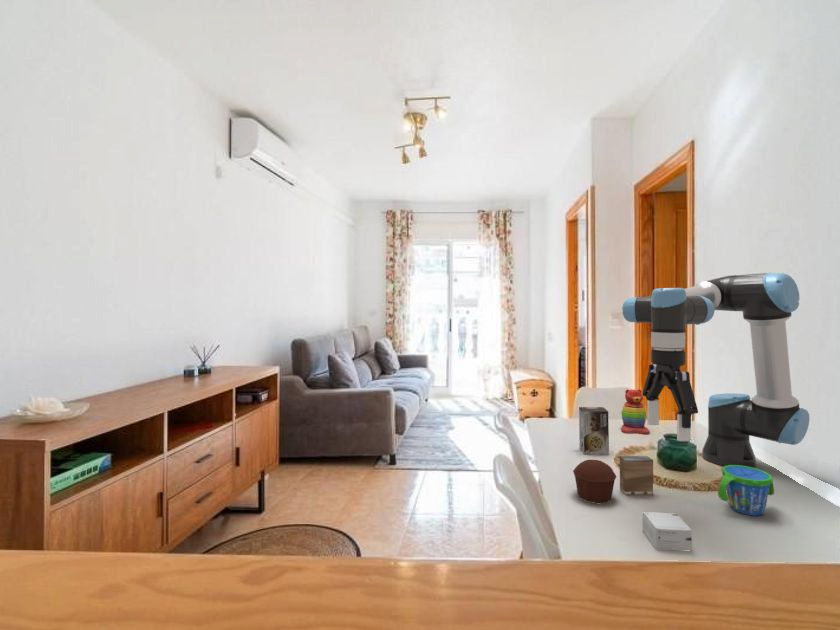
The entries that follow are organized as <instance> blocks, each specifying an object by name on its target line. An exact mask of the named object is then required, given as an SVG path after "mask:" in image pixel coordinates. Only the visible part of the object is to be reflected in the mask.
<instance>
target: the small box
mask: <svg viewBox="0 0 840 630" xmlns="http://www.w3.org/2000/svg"><path fill="white" fill-rule="evenodd" d="M692 532H693V529H692V528H691V527H690V526H689V525H688V524H687V523H686V522H685V521H684V520H683V519H682V518H681V517H680V516H679V515H678V514H677V513H672V512H671V513H669V512H667V513H666V512H658V511H657V512H651V511H650V512H647V511H645V512H644V511H642V533H643V534H644V535H645V537H646V538H647V540H648V541H649V542H650V543H651V545H652V546H653V549H655V550H667V551H668V550H669V551H679V550H690V551H689V552H692V548H693V547H692V546H693V545H692V544H693V542H692V541H693V539H692V538H693V535H692V534H693V533H692Z"/></svg>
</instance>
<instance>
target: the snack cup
mask: <svg viewBox="0 0 840 630" xmlns="http://www.w3.org/2000/svg"><path fill="white" fill-rule="evenodd" d="M721 473H722V476H723V477H721V481H720V483H719V488H718V491H717V495H718V497H719V500H722V501H724V502H728V504H729V506H730V507H731V509H732V510H734V511H735V512H738V513H741V514H744V515H749V516H754V517H755V516H761V515H764V513H765V511H766V507H767V501H768V497H769V496H773V495H774V493H775V486H774V480H773V477H772V475H771V474H769V473H768V472H766V471H765V470H762V469H760V468H757V467H756V468H755V467H748V466H741V465H727V466H723V467H722V468H721Z"/></svg>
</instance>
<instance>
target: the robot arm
mask: <svg viewBox="0 0 840 630" xmlns="http://www.w3.org/2000/svg"><path fill="white" fill-rule="evenodd" d="M799 306H800V291H799V288H798V285H797V283H796V281H795V280H794V278H792V276H790V275H789V274H787V273H784V272H781V273H780V272H779V273H775V272H764V273H763V272H762V273H752V274H748V273H747V274H739V275H736V274H735V275H725V276H722V277H716V278H713V279H710V280H706V281H705V280H704V281H701V282H697V283H696V284H695V285H693V286H692V287H687V288H683V287H663V288H662V287H661V288H655V289H653V290H652V292H651V295H648V296H647V295H646V296H635V297H634V296H633V297H628V298H626V299H625V300H624V302H623V304H622V307H621V310H622V317H623V318H624V320H625V321H627V322H629V323H636V324H639V323H642V324H643V323H644V324H651V329H650V330H651V331H650V347H651V348H652V349H651V350H650V362H651V363H652V364H649V365H648V372H647V375H646V380H645V384H644V386H643V390H642V392H641V394H642V396H643V397H645V399H646V403H647V409H646V411H647V414H646V422H647V425H648V426H659V424H660V397H659V396H660V394H661V393H662V391H663V390H664V387H666V388H667V389H668V390H670V392H671V395H672V396H673V399H674V402H675V404H676V406H677V409H678V411H677V412H676V413H677V414H676V419H677V422H676V431H677V432H676V441H678V442H691V428H692V415H695V414H698V413H699V409H698V406H697V402H696V398H695V394H694V392H693V387H692V386H691V385H692V383H691V379H690V372H689V371H681V367H682V366H685V364H686V351H685V350H683V349H685V348H686V339H687V336H686V325H697V326H698V325H700V324H705V323H708V322H710V321H711V320H712V318H713V317H714V315H715V311H727V312H742V315H743V320H744V321H746V322H747V323H749V326H750V327H749V329H750V336H751V337H750V338H751V347H752V357H753V369H754V378H755V380H754V381H755V387H756V394H755V395H754V396H753V397H752V398H751V396H750V395H749V394H746V393H735V392H734V393H727V392H726V393H715V394H712V395H710V396H709V399H708V405H707V411H708V415H707V418H708V419H707V422H708V425H707V427H708V430H707V431H708V433H707V437H706V440H705V443H704V444H703V447H702V452H701V453H702V454H701V455H702V458H703V459H704V460H706V461H708V462H710V463H713V464H716V465H718V466H719V465H720V466H723V467H724V466H727V465H741V466H748V467H752V468H755V467H756V465H757V463H756V461H757V458H756V455H755V453H754V450H753V448H752V444H751V442H750V436H751V437H754V438H759V439H763V440H766V441H767V440H768V441H772V442H776V443H779V444H785V445H791V446H792V445H794V446H796V445H798V444H799V443H801V442H802V441H803V440H804V438H805V436H806V434H807V433H808V429H809V425H810V413H809V411H808V410H807V409H805V408H803V407H800V400H799V399H797V397H795V396H793V394H792V381H791V368H790V359H789V358H790V357H789V347H788V336H787V335H788V334H787V325H786V324H787V323H786V322H787V321H788V320H789V319H790V318H791V317H792V313H793V312H795V311H797V309H798V308H799Z"/></svg>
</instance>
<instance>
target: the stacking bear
mask: <svg viewBox="0 0 840 630" xmlns="http://www.w3.org/2000/svg"><path fill="white" fill-rule="evenodd" d="M624 393H625V394H624V396H625V397H624V399H625V400H626V402H624V405H622V410H621V419H622V423H623V424H622V426H621V427H620V431H621V432H622V433H623V434H628V435H630V434H641V435H650V434H651V431H650V430H649V429H648V428H647V427H646V422H647V414H646V410H645V407H644V404H643V403H642V401H643V399H644V396H643V395H642V390H641V389H625V392H624Z"/></svg>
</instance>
